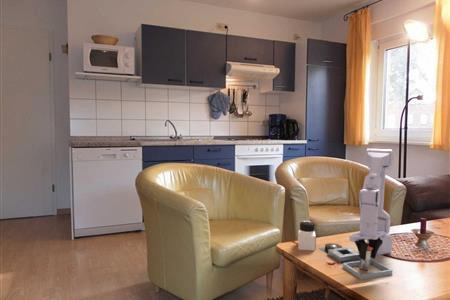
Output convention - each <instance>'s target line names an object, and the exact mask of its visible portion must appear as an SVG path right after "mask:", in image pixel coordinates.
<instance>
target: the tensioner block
mask: <svg viewBox="0 0 450 300" xmlns="http://www.w3.org/2000/svg"><path fill="white" fill-rule="evenodd" d="M318 249H319V251H322V252H324V254H326V255H328V256H330V257H331V258H333V259H334V260H335V261H337V262H339V263H340V264H343V263H348V262H355V261H360V256H359V252H358V250H355V249H353V248H352V247H349V246H346V247H343V246H342V245H340V244H338V243H330V242H329V243H326V244H325V245H324V246H323V247H318Z"/></svg>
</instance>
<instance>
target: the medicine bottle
mask: <svg viewBox="0 0 450 300" xmlns="http://www.w3.org/2000/svg"><path fill="white" fill-rule="evenodd" d="M297 233H298V234H297V235H298V236H297V241H298V242H297V244H298V245H297V246H298V250H299V251H300V250H302V251H316V247H317V236H316V231H315V223H314V222H312V221H310V220H303V221H301V222H300V223H299V230H298V231H297Z"/></svg>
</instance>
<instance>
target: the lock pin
mask: <svg viewBox="0 0 450 300" xmlns="http://www.w3.org/2000/svg"><path fill="white" fill-rule="evenodd" d="M368 244H369V243H368ZM373 247H374V246H373V245H372V244H369V245H368V247H367V251H366V259H365V260H362V259H360V266H358V268H360V269H361V270H363V271H369V269H370V268H369V267H370V265H371V264H370V259H372V258H371V252H372V250H373Z"/></svg>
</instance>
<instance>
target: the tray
mask: <svg viewBox="0 0 450 300" xmlns="http://www.w3.org/2000/svg"><path fill="white" fill-rule="evenodd" d="M371 264H372V265H374V266H375V267H377V268H379V269H381V270H380V271H372V272H366V273H361V272H359V271H357V270H355V268H353V267H359V266H360V261H355V262H348V263H342V269H345V270H346V271H348V272H349V273H350V274H353V275H354V276H356V277H357V278H358V279H360V280H368V279H372V278H373V279H374V278H380V277H385V276H391V275H393V269H391V268H389V267H388V266H387V265H384V264H382V263H380V262H378V261H377V260H375V259H373V258H370V264H369V265H371Z"/></svg>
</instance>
